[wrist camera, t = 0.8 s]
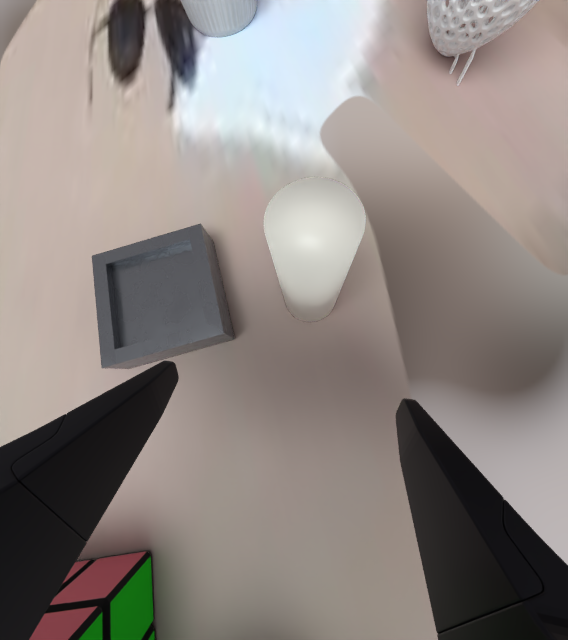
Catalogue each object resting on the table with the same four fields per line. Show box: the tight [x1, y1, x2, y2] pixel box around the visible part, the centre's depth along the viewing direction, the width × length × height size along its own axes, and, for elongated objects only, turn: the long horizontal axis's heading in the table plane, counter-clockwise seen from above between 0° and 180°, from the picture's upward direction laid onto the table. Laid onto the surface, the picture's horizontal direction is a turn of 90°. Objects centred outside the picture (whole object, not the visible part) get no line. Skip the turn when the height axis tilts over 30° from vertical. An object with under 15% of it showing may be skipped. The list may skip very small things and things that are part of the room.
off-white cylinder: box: [264, 177, 366, 322], centre depth 18 cm, size 5×5×12 cm
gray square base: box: [92, 224, 235, 369], centre depth 24 cm, size 11×11×3 cm
